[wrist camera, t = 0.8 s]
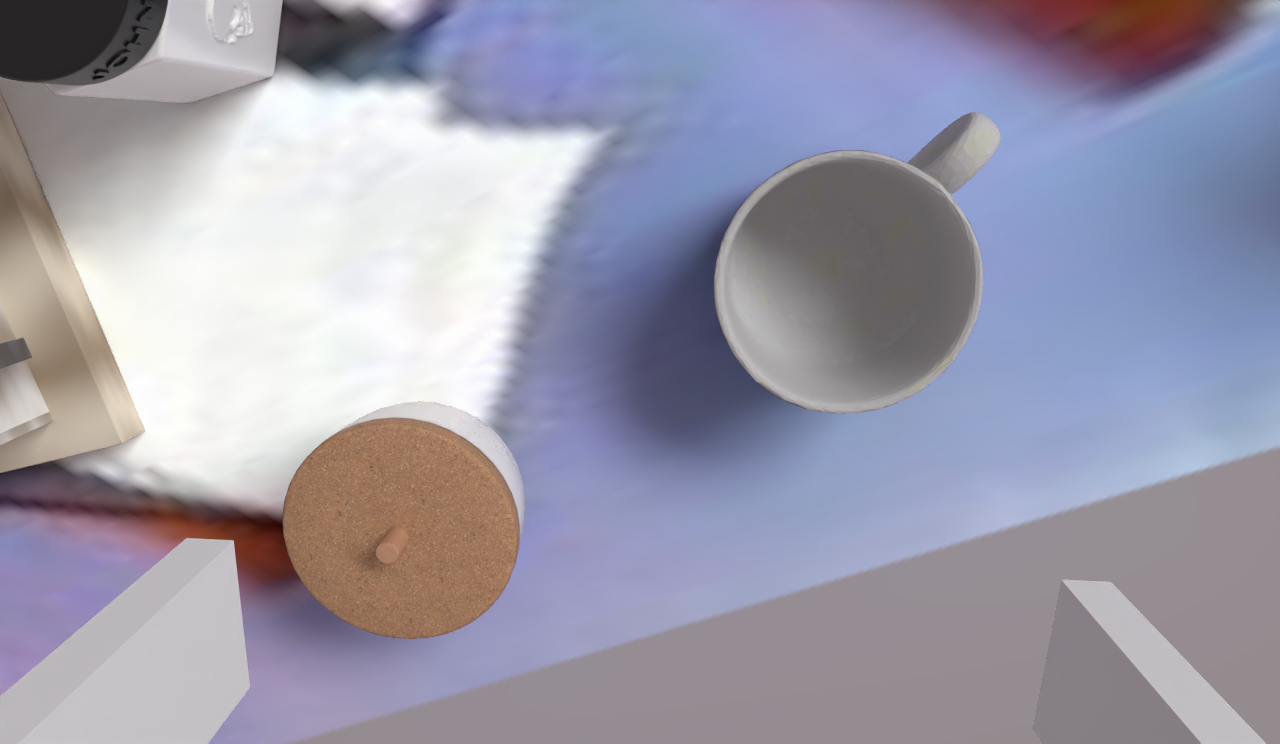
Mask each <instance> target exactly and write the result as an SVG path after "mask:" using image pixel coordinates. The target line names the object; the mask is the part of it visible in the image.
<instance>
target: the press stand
mask: <svg viewBox="0 0 1280 744" xmlns="http://www.w3.org/2000/svg"><path fill="white" fill-rule="evenodd" d="M143 431H145V429H144V426H143V424H142V422H141V419H140V417H139V415H138V412H137V410H136V408H135V405H134V403H133V401H132V398H131V396H130V394H129V391H128V389H127V387H126V384H125V382H124V380H123V377H122V375H121V373H120V370H119V368H118V366H117V363H116V361H115V359H114V356H113V354H112V352H111V349H110V347H109V345H108V342H107V340H106V338H105V335H104V333H103V331H102V328H101V326H100V324H99V321H98V319H97V317H96V314H95V312H94V310H93V307H92V305H91V303H90V300H89V298H88V296H87V293H86V291H85V289H84V286H83V284H82V282H81V279H80V277H79V275H78V272H77V270H76V268H75V265H74V263H73V261H72V258H71V256H70V254H69V251H68V249H67V247H66V244H65V242H64V240H63V237H62V235H61V233H60V230H59V228H58V226H57V223H56V221H55V219H54V216H53V214H52V212H51V209H50V207H49V205H48V202H47V200H46V198H45V195H44V193H43V190H42V188H41V186H40V183H39V181H38V179H37V176H36V174H35V172H34V169H33V167H32V165H31V162H30V160H29V158H28V155H27V153H26V151H25V148H24V146H23V144H22V141H21V139H20V137H19V134H18V132H17V130H16V127H15V125H14V123H13V120H12V118H11V116H10V113H9V111H8V109H7V106H6V104H5V102H4V99H3V97H2V95H1V92H0V473H2V472H6V471H10V470H15V469H19V468H23V467H27V466H31V465H35V464H39V463H44V462H48V461H52V460H56V459H60V458H64V457H68V456H73V455H77V454H81V453H85V452H89V451H93V450H97V449H101V448H106V447H110V446H114V445H118V444H122V443H124V442H126V441H127V440H129V439H131V438H133V437H135V436H136V435H138V434H140V433H142V432H143Z"/></svg>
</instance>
